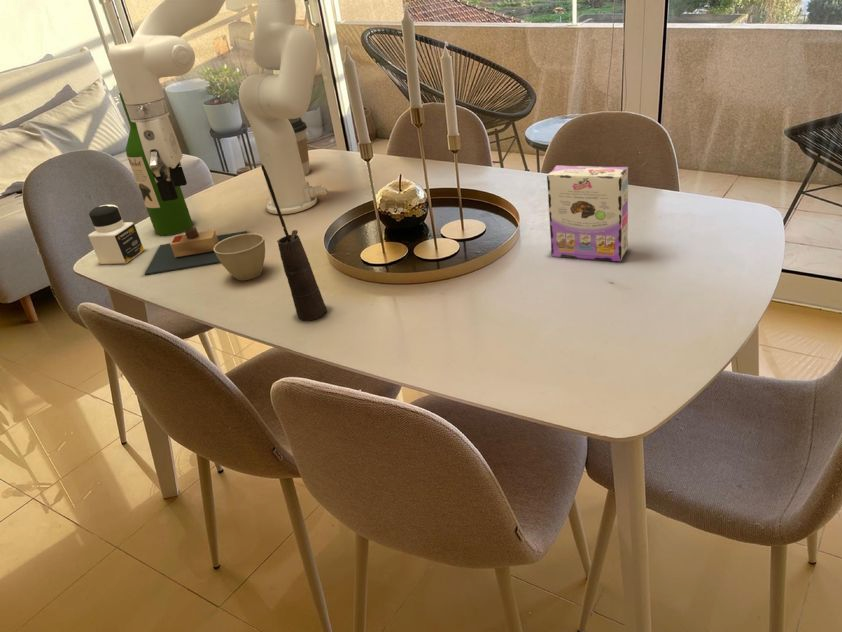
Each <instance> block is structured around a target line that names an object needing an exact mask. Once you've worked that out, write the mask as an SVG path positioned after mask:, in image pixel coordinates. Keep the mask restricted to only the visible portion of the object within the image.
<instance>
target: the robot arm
mask: <svg viewBox="0 0 842 632" xmlns="http://www.w3.org/2000/svg"><path fill="white" fill-rule="evenodd" d="M225 2H226V0H161V1H160V2H159V3H158V4H157V5H156V6H155V7H153V9H151V10H150V11H149V13H148V14H147V15H146V16H145V18H144V19H143V20H142V21H141V23H140V25H139V27H138V28H137V29H136V31H135V33H134V34H133V36H132V39H131V41H130V42H125V43H119V44H116V45H113V46H111V47H109V48H108V51H107V55H108V59H109V62H110V65H111V68H112V71H113V74H114V77H115V79H116V82H117V85H118V88H119V91H120V92H121V94H122V97H123V100H124V103H125V106H126V108H127V111H128V114H129V117H130V120H131V122H136V125H137V129H138V134H139V137H140V140H141V144H142V147H143V150H144V153H145V156H146V159H147V162H148V164H149V167H150V169H151V170H152V171H153V175H154V177H155V182H156V184H157V187H158V190H159V193H160V196H161V199H162V201H169V200H176V199H178V195H177V192H176V189H175V187H177V186H180V187H182V186H186V185H187V184H188V182H187V178H186V176H185V173H184V170H183V166H182V163H181V160H182V159H183V152H182V149H181V146H180V143H179V141H178V138H177V136H176V135H177V134H176V132H175V130H174V127H173V124H172V122H171V120H170V117H169V116H170V114H171V113H170V110H169V107H168V104H167V100H166V98H165V95H164V91H163V88H162V86H161V85H162V84H161V82H160V79H162V78H171V77H181V76H183V75H186V74H188V73H189V72H190V71H191V70H192V69H193V67H194V65H195V62H196V54H195V51H194V49H193V46H192V45H191V44H190V43H189V42H188V41H187V40H185V39H184V38H182V36H183V35H185V34H186V33H188V32H189V31H191V30H193V29H195V28H198V27H199V26H201V25H204V24H205V23H207V22H210V21H211V20H212V19H214V18H215V17H216V16H217V15H218V14H219V13H220V11H221V9H222V7H223V5H224V4H225ZM296 14H297V4H296V0H257V11H256V19H255V24H254V25H255V26H254V32H253V39H252V46H251V47H252V48H251V55H252V58H253V61H254V62H255V64H256V65H257V66H259V67H260V68H262V69H264V70H267V71H268V70H270V71H279V74H276V73H275V74H274V73H256V74H252V75H249V76H247V77H246V78H244V79H243V80H242V82H241V83H240V86H239V88H238V98H239V104H240V106H241V108H242V110H243V111H242V112H243V113H244V115H245V117H246V119H247V121H248V123H249V126H250V129H251V131H252V134H253V138H254V142H255V146H256V149H257V153H258V156H259V160H260V164H261V165H262V164H263V166H264V168H265V170H266V172H267V174H268V177H269V179H270V182H271V185H272V188H273V191H274V194H275V197H276V200H277V203H278V206H279V209H280V211H281V214H282V215H289V214H295V213H300V212H302V211H305V210H308V209H310V208H312V207H313V206H315V205H316V204H317V202H318V199H317V196H325V195H328V192H327V187H326V186H322V185H316V186H312V185H311V184H310V181H307V179H306V175H304V170H303V166H302V162H301V158H300V154H299V150H298V145H297V140H296V136H295V133H294V130H293V127H292V125H291V123H290V121H289V120H288V119H297V118H302V117H303V116H304V115H305V114H306V113H307V111H308V110H309V108H310V104H311V100H312V94H313V88H314V83H315V77H316V71H317V65H318V64H317V63H318V48H317V43H316V39H315V37H314V36H313V34H312V33H311V32H310V30H309V29H307V27H305V26H302V25H298V24H296ZM164 165H165V166H164ZM163 171H165V174H164V172H163ZM265 182H266V181H265ZM266 187H267V190H268V193H269V197H270V200H269V201H268V202H267V204H266V210H267V212H268V213H270V214H273V215H278V212H277V210H276V207H275V204H274V201H273V198H272V195H271V193H270V190H269V187H268V184H267V182H266Z"/></svg>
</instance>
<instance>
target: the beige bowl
mask: <svg viewBox="0 0 842 632" xmlns="http://www.w3.org/2000/svg"><path fill="white" fill-rule="evenodd" d="M265 242H266V241H265V237H264V235H263V234H260V233H247V234H241V235H236V236H232V237H229V238H226V239H224V240H222V241H220V242H219V243H217V244H216V245H215V246H214V252H215V254H216V256H217V258H218V259H219V261H220V262H221V263H220V265H222V266H223V267H224V269H225V270H226V271H227V272H228V273H229V274H230V275H231V276H232V277H234V278H235V279H236V280H238V281H248V280H252V279H255V278H257V277H259V276H260V275H261V274H262V272H263V268H264V264H265V258H266V243H265Z"/></svg>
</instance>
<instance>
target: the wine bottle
mask: <svg viewBox="0 0 842 632" xmlns="http://www.w3.org/2000/svg"><path fill="white" fill-rule="evenodd" d="M118 95H119V98H120V101H121V104H122V107H123V109H124V113H125V115H126V118H127V122H128V124H129V134H128V136H127V137H128V139H127V142H126V146H125V153H126V158H127V161H128V163H129V165H130V168H131V171H132V173H133V177H134V179H135V182H136V184H137V186H138V190H139V192H140V195H141V197H142V200H143V203H144V206H145V208H146V211H147V215H148V216H149V219H150V221H151V224H152V227H153V229H154V232H155V233H156V235H158V236H163V237H164V236H173V235H174V236H175V235H178V234H181V233H183V232H184V233H185V231H184V230H185V229H187V228H190V227H193V220H192V216H191V214H190V211H189V208H188V205H187V202H186V200H185V196H184V194H183V191H182V188H181V186H177V187H175V189H176V192H177V195H178V199H176V200H169V201H162V199H161V196H160V193H159V190H158V187H157V184H156V182H155V177H154V175H153V171H152V170H151V169H150V167H149V164H148V162H147V159H146V156H145V153H144V150H143V147H142V144H141V140H140V137H139V134H138V129H137V125H136V122H131V120H130V117H129V114H128V111H127V108H126V106H125V103H124V100H123V97H122V94H121V91H120V92H118ZM164 166H165V165H164ZM163 172H164V174H165V171H163Z"/></svg>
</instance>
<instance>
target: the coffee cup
mask: <svg viewBox="0 0 842 632" xmlns="http://www.w3.org/2000/svg"><path fill="white" fill-rule="evenodd" d="M288 120H289V121H290V123H291V125H292V127H293V130H294V133H295V136H296V140H297V145H298V150H299V154H300V158H301V162H302V166H303V170H304V175H305V176H307V175H309V174H310V169H311V166H310V158H309V147H308V139H307V131H306V130H307V129H308V126H307V123H306V121H303V120H302V117H300V118H297V119H288Z"/></svg>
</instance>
